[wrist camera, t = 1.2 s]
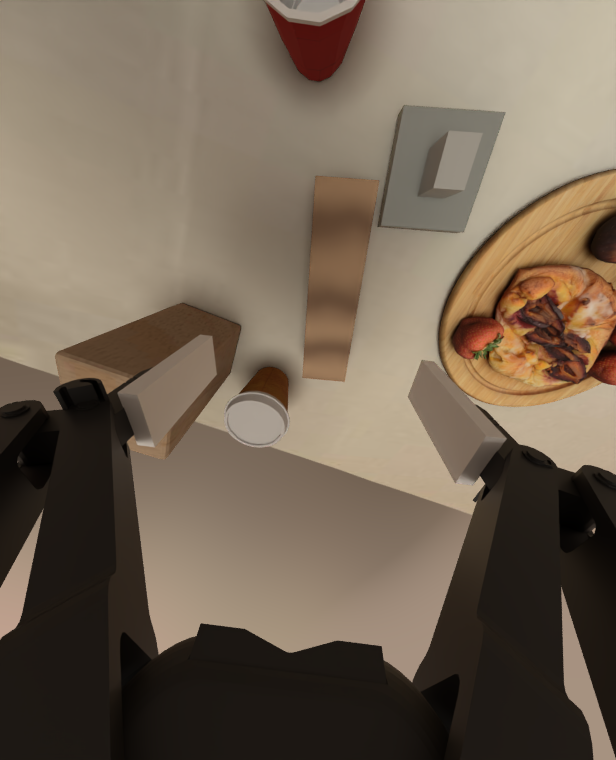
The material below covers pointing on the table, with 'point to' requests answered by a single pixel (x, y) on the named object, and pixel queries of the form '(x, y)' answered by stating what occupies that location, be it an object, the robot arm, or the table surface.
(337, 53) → the plastic cup
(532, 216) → the wooden plate with food
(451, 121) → the pedestal
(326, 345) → the walnut beam
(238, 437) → the disposable coffee cup
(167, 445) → the wooden block
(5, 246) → the table surface
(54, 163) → the table surface
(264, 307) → the table surface
